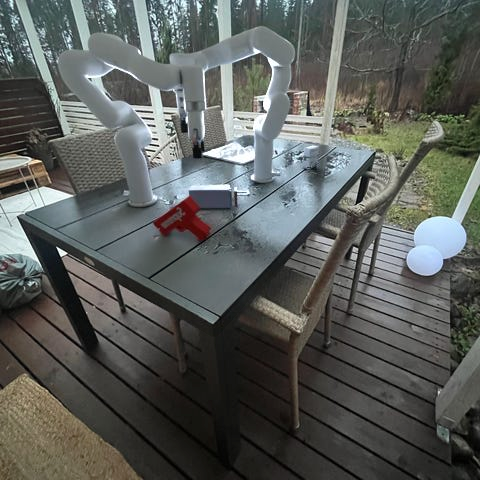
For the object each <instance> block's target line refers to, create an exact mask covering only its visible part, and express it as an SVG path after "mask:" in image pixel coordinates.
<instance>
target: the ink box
mask: <svg viewBox="0 0 480 480" xmlns="http://www.w3.org/2000/svg"><path fill="white" fill-rule="evenodd" d="M319 150H320V146H319V145H313V144H311V145H309V146H306V147H304V149H303V158H302V165H301V168H302V169H306V170H311V169H313V168H316V167H317V165H318V159H319ZM316 164H317V165H316ZM314 165H316V166H314ZM303 166H305V167H303ZM311 166H313V167H311ZM307 167H311V168H307Z"/></svg>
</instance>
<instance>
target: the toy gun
mask: <svg viewBox="0 0 480 480" xmlns="http://www.w3.org/2000/svg"><path fill="white" fill-rule="evenodd" d="M200 211H201V210H200V207H199V205H198V204H197V203H196V202H195V201H194V200H193V199H192V198H191V196H189V195H188V196H187V197H185V198H184V199H183V200H181V201H180V202H179V203H177V204H176V205H174V206H173V207H171V209H169V210H167V211H166V212H165V213H163V214H162V215H161V216H159V217H158V218H157V219H156V220H155V221H153V222H152V224H153V225H154V226H155V227H156V229H157V230H158V231H159V233H160V234H161V235H163V236H166V235H167V234H169V233H170V232H172V231H173V230H175V229H176V230H177V232H179V233H184V232H185V231H189V232H190V233H191V234H192V235H193V236H195V237H196V238H197V239H198V240H197V241H198V242H200V243H201V242H202V241H203V240H205V241H206V240H207V238H209V236H210V235H211V232H210V231H211V230H212V227H211V226H210V225H209V224H207V223H206V222H205V221H203V220H202V219H201V218H200V217H199V216H198V215H197V214H198V213H199V212H200Z"/></svg>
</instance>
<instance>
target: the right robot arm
mask: <svg viewBox="0 0 480 480" xmlns="http://www.w3.org/2000/svg"><path fill="white" fill-rule="evenodd" d="M259 53H260V54H262V55H263V56H265V57H266V58H267V60H268V63H269V64H270V67H271V70H272V74H271V80H270V83H269V86H268V89H267V92H266V94H265V97H264V100H263V109H264V110H265V111H266V114H262V115H259V116H258V117H256V118H255V120H254V123H253V137H254V139H253V140H254V145H253V148H254V160H253V174H252V175H251V176H250V180H251V181H252V182H255V183H260V184H267V183H271V182H274V180H275V177H281V174H282V173H281V172H278V171H273V159H274V158H273V155H274V140H276V139H277V138H279V136H280V134H281V132H282V130H283V127H284V125H285V122H286V120H287V117H288V115H289V112H290V108H291V100H290V97H289V96H288V94H287V93H288V90H289V87H290V84H291V80H292V68H291V64H292V63H293V61H294V60H295V57H296V51H295V47H294V45H293V44H292V43H291V42H290V41H288V40H287V39H286V38H284V37H282V36H280V34H277V32H275V31H273V30H272V29H270V28H268V27H267V26H264V25H259V26H257V27H254V28H251V29H249V30H245V31H243V32H241V33H239V34H236V35H233V36H230V37H227V38H225V39H223V40H221V41H219V42H218V43H216V44H214V45H212V46H211V45H210V46H209V47H205V48H204V49H202V50H201V49H200V50H199V51H195V52H190V53H186V52H172V53H170V54H169V64H176V65H181V66H184V65H200V66H202V68H203V70H204V73H205V72H207V71H209V70H212V69H213V68H217V67H219V66H224V65H231V64H233V63H235V62H238V61H240V60H243V59H246V58H248V57H251V56H254V55H256V54H259ZM172 91H173V93H175V96H176V106H177V114H178V118H179V124H180V132H181V134H188V112H187V111H185V104H184V94H183V88H181V89H175V90H172Z"/></svg>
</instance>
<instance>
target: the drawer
mask: <svg viewBox="0 0 480 480" xmlns="http://www.w3.org/2000/svg"><path fill="white" fill-rule="evenodd" d="M233 189H234V191H233V190H232V187H230V207H232V206H233V194H234V208H238V197H250V196H251V191H250V190H249V189H248V190H238V186H234V188H233ZM232 191H233V192H234V193H233V192H232ZM232 193H233V194H232Z"/></svg>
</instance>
